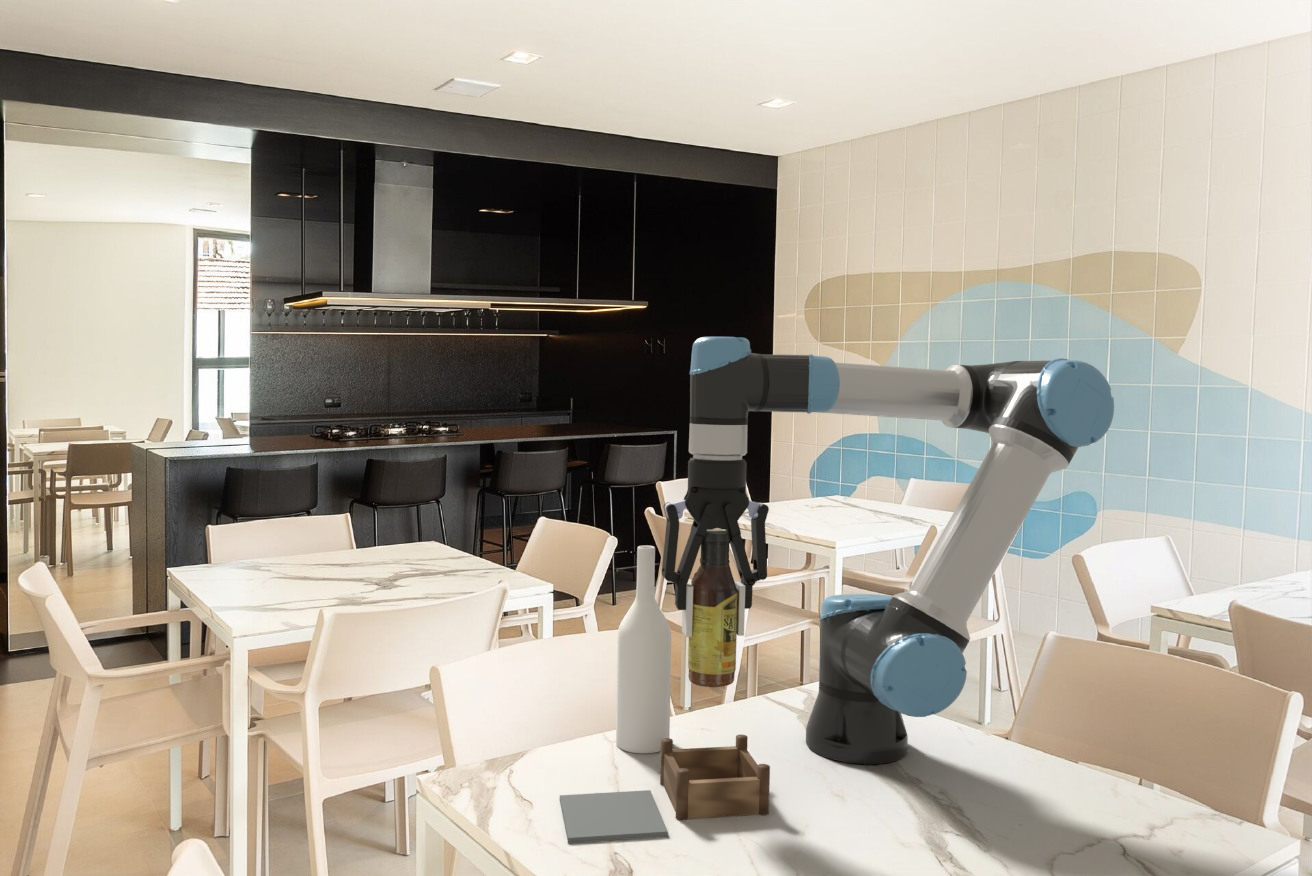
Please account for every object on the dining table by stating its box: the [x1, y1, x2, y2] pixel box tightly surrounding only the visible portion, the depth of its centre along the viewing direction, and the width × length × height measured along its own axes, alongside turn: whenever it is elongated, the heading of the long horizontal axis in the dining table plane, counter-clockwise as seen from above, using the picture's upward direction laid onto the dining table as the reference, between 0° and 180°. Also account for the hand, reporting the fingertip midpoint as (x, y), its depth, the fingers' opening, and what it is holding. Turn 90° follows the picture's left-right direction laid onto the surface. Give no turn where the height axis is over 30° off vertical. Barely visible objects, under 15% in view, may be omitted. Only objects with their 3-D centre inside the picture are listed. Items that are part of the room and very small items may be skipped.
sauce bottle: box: [687, 528, 738, 688], centre depth 127 cm, size 6×6×20 cm
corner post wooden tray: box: [659, 734, 771, 821], centre depth 129 cm, size 12×12×6 cm
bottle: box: [615, 545, 672, 754], centre depth 146 cm, size 8×8×30 cm
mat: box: [559, 789, 669, 844], centre depth 122 cm, size 12×12×1 cm
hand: (712, 633), depth 127 cm, fingers closed on sauce bottle, 6 cm apart
